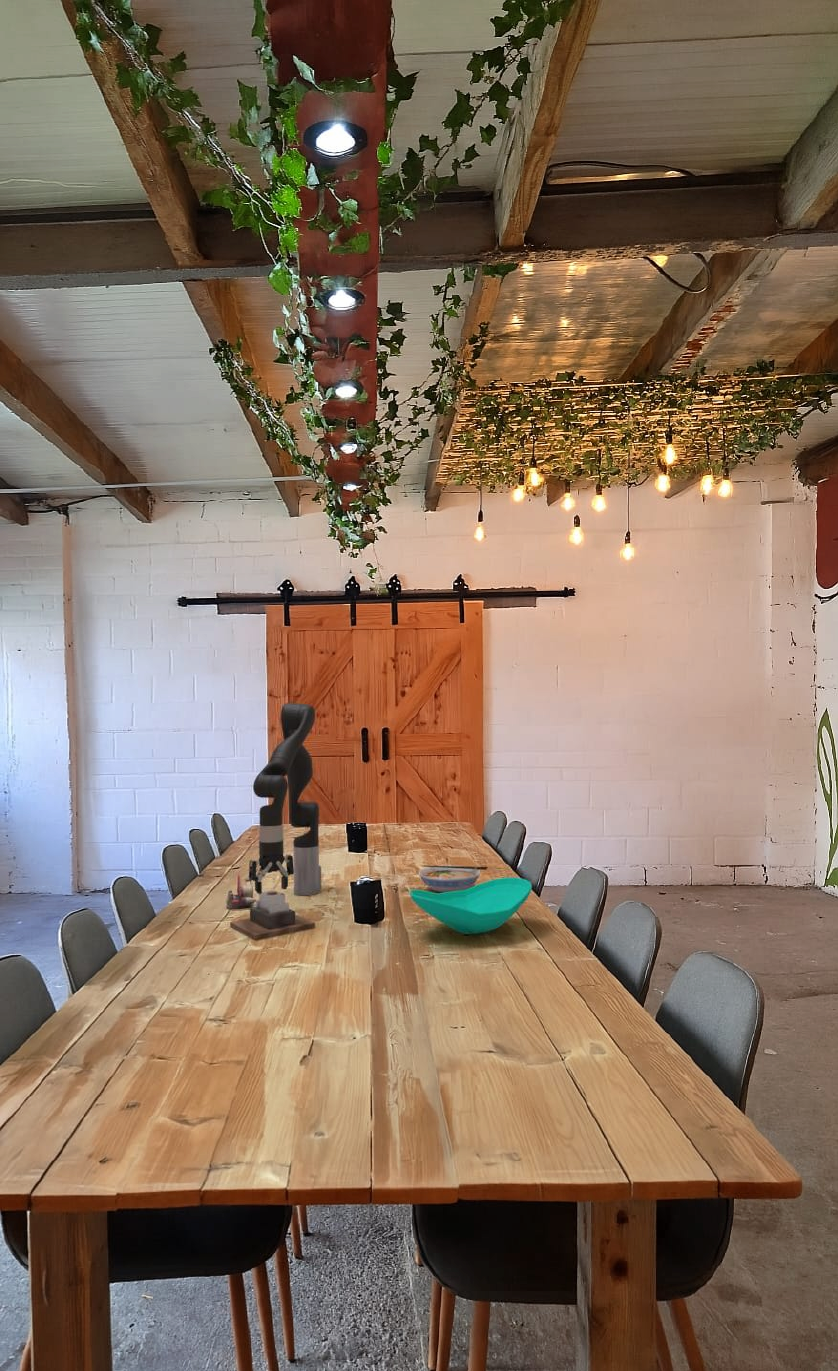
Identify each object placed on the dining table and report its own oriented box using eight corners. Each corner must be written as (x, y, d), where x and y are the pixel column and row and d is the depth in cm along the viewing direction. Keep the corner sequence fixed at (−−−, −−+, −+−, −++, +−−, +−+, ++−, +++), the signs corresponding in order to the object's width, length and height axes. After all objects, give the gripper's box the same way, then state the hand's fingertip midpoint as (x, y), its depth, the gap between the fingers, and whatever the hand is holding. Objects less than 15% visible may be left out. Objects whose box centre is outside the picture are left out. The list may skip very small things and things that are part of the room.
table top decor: (434, 954, 214) (434, 905, 214) (393, 928, 239) (393, 885, 239) (553, 933, 231) (552, 889, 232) (503, 911, 256) (503, 871, 256)
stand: (287, 915, 255) (287, 898, 255) (315, 927, 241) (314, 909, 241) (230, 927, 243) (230, 909, 243) (255, 940, 229) (255, 921, 229)
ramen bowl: (407, 897, 276) (407, 874, 277) (425, 883, 298) (425, 861, 298) (476, 902, 269) (475, 878, 269) (489, 886, 291) (489, 864, 291)
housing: (288, 911, 240) (288, 894, 240) (270, 914, 236) (269, 897, 236) (274, 904, 248) (274, 888, 248) (255, 908, 244) (255, 891, 244)
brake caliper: (218, 897, 271) (239, 868, 273) (244, 914, 273) (264, 885, 276) (219, 905, 260) (241, 875, 262) (246, 923, 262) (268, 892, 265)
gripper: (255, 843, 235) (256, 897, 235) (297, 838, 244) (297, 889, 244) (244, 840, 241) (245, 892, 241) (286, 834, 250) (286, 885, 250)
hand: (271, 891), depth 242 cm, fingers open, 8 cm apart
